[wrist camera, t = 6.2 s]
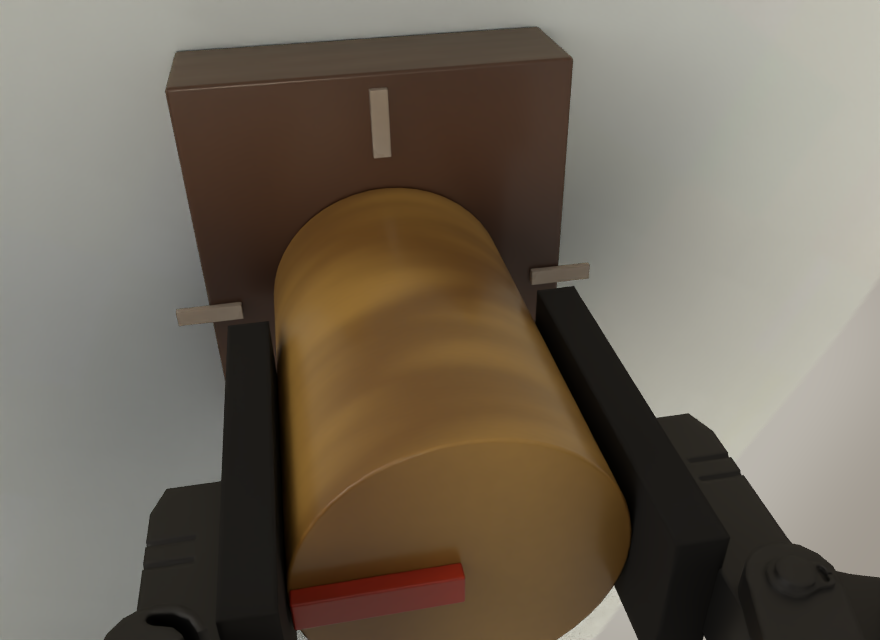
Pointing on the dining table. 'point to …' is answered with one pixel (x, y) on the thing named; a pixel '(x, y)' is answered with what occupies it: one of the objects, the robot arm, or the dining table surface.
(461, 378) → the lock knob
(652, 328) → the dining table surface
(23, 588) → the dining table surface
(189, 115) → the panel
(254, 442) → the robot arm
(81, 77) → the dining table surface
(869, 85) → the dining table surface
